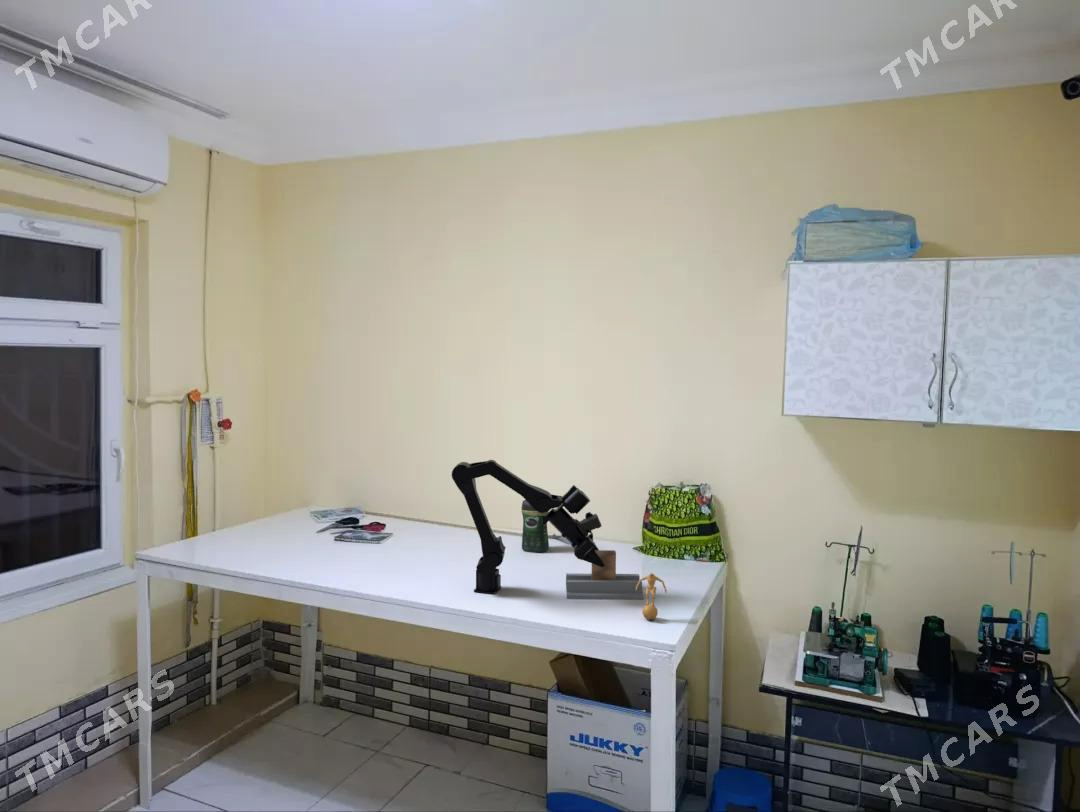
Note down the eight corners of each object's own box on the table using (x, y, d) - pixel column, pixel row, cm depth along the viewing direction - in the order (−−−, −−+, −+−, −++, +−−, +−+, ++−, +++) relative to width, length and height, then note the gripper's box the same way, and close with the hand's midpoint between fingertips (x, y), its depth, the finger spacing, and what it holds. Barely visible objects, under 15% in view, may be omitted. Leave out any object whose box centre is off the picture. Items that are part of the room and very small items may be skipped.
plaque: (591, 589, 213) (592, 552, 212) (591, 586, 215) (591, 550, 215) (615, 589, 213) (615, 552, 212) (614, 586, 215) (615, 550, 215)
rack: (566, 598, 207) (566, 584, 207) (565, 583, 221) (565, 570, 221) (643, 599, 207) (643, 585, 207) (637, 584, 221) (637, 571, 221)
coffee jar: (551, 548, 263) (551, 498, 261) (543, 554, 255) (543, 502, 254) (526, 546, 266) (526, 496, 265) (518, 551, 259) (518, 500, 258)
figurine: (633, 620, 190) (633, 575, 189) (636, 612, 196) (637, 569, 195) (664, 623, 188) (665, 578, 187) (667, 615, 193) (668, 571, 193)
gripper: (586, 512, 203) (625, 551, 204) (584, 499, 222) (619, 535, 222) (558, 539, 204) (597, 578, 204) (558, 524, 223) (593, 560, 223)
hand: (602, 561), depth 214 cm, fingers open, 9 cm apart
